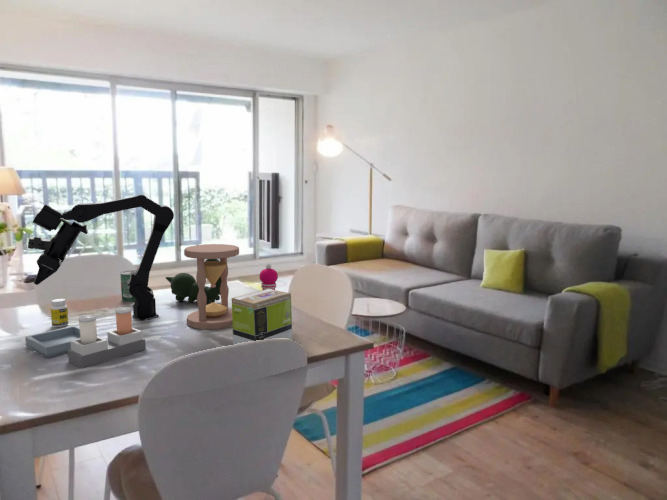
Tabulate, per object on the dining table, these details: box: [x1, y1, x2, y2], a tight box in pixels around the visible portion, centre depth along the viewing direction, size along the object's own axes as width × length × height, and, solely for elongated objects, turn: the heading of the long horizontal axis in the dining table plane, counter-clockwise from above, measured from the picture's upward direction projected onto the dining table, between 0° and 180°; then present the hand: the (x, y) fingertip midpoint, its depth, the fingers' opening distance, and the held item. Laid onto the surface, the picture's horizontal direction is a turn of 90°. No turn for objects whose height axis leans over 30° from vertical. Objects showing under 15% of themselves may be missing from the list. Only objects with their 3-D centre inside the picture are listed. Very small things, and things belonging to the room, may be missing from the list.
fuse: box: [77, 314, 98, 345], centre depth 134 cm, size 4×4×9 cm
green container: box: [120, 269, 137, 304], centre depth 196 cm, size 8×8×11 cm
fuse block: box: [67, 326, 147, 369], centre depth 139 cm, size 18×7×6 cm, turn 141°
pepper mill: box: [258, 263, 279, 290], centre depth 168 cm, size 7×7×20 cm
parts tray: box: [24, 325, 99, 359], centre depth 146 cm, size 14×14×3 cm
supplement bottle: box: [50, 298, 69, 328], centre depth 164 cm, size 5×5×8 cm
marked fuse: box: [114, 306, 133, 335], centre depth 142 cm, size 4×4×9 cm
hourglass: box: [183, 243, 240, 330], centre depth 169 cm, size 18×18×25 cm
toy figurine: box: [165, 259, 222, 304], centre depth 193 cm, size 9×19×25 cm
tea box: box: [231, 289, 293, 345], centre depth 149 cm, size 15×10×15 cm, turn 141°
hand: (37, 281), depth 161 cm, fingers open, 9 cm apart
